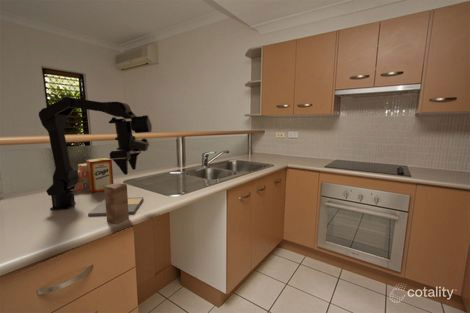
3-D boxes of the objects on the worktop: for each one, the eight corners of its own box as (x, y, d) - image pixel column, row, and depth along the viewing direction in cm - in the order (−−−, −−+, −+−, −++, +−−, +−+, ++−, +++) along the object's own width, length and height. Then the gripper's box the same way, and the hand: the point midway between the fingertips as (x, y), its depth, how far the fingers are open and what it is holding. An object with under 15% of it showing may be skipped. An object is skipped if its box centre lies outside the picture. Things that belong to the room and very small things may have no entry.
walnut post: (106, 221, 79) (104, 186, 77) (118, 216, 84) (116, 182, 82) (117, 224, 77) (114, 188, 75) (128, 218, 82) (126, 184, 80)
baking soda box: (92, 193, 109) (90, 161, 106) (88, 190, 113) (86, 159, 110) (113, 189, 115) (111, 158, 113) (109, 186, 120) (107, 157, 117)
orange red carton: (62, 193, 108) (59, 168, 106) (58, 190, 112) (56, 166, 110) (109, 184, 125) (107, 162, 123) (104, 182, 128) (103, 161, 126)
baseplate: (88, 216, 83) (87, 213, 83) (105, 200, 99) (105, 198, 99) (133, 213, 86) (133, 211, 86) (143, 199, 102) (143, 197, 102)
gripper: (137, 134, 81) (143, 175, 84) (151, 131, 99) (155, 165, 102) (105, 136, 80) (112, 178, 83) (125, 133, 99) (130, 167, 101)
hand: (130, 171), depth 92 cm, fingers open, 9 cm apart
